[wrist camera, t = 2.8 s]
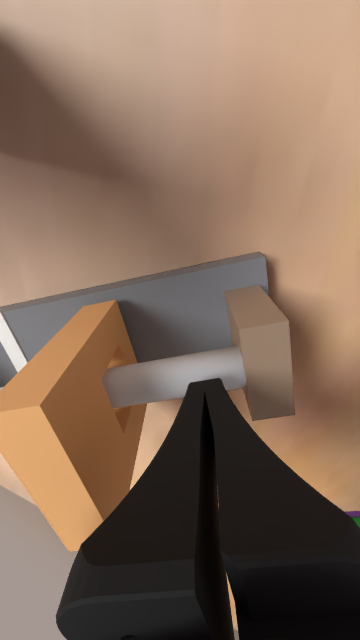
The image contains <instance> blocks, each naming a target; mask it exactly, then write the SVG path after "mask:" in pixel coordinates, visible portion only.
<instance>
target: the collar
mask: <svg viewBox="0 0 360 640" xmlns="http://www.w3.org/2000/svg"><path fill="white" fill-rule="evenodd" d="M136 363H137V360H136V357H135V354H134V351H133V348H132V345H131V342H130V339H129V336H128V333H127V330H126V327H125V324H124V321H123V318H122V315H121V312H120V309H119V306H118V303H117V300H112V301H107V302H102V303H97V304H92V305H87V306H83V307H82V308H81V309H80V310H79V311H78V312H77V313H76V314H75V315H74V316H73V317H72V318H71V319H70V320H69V321H68V322H67V323H66V325H65V326H64V327H63V328H62V329H61V330H60V331H59V332H58V333H57V334H56V335H55V336H54V337H53V338H52V339H51V340H50V341H49V342H48V343H47V344H46V345H45V346H44V347H43V348H42V349H41V350H40V351H39V352H38V353H37V354H36V355H35V356H34V357H33V358H32V359H31V360H30V361H29V362H28V363H27V364H26V365H25V366H24V367H23V368H22V369H21V370H20V371H19V372H18V373H17V374H16V375H15V376H14V377H13V378H12V379H11V380H10V381H9V382H8V383H7V384H6V385H5V386H4V387H3V388H2V389H1V390H0V452H1V454H2V455H3V457H4V458H5V460H6V461H7V463H8V464H9V465H10V467H11V468H12V470H13V471H14V473H15V474H16V476H17V477H18V478H19V480H20V481H21V483H22V484H23V486H24V487H25V489H26V490H27V492H28V493H29V494H30V496H31V497H32V499H33V500H34V502H35V503H36V505H37V506H38V507H39V509H40V510H41V512H42V513H43V515H44V516H45V518H46V519H47V520H48V522H49V523H50V525H51V526H52V528H53V529H54V531H55V532H56V533H57V535H58V536H59V538H60V539H61V541H62V542H63V543H64V545H65V546H66V548H67V549H68V551H79V548H80V546H81V544H82V543H83V542H84V541H85V540H86V539H87V538H88V537H89V536H90V535H91V534H92V533H93V532H94V531H95V529H96V528H97V527H98V526H99V525H100V524H101V523H102V522H103V521H104V520H105V519H106V518H107V517H108V516H109V515H110V514H111V513H112V512H113V510H114V509H115V508H116V507H117V506H118V505H119V503H120V502H121V501H122V500H123V499H124V497H125V496H126V495H127V494H128V493H129V490H130V485H131V480H132V475H133V470H134V465H135V460H136V455H137V450H138V445H139V440H140V436H141V431H142V426H143V421H144V416H145V411H146V406H147V403H145V404H139V405H132V406H126V407H119V408H112V405H111V403H110V400H109V398H108V395H107V393H106V391H105V388H104V386H103V383H102V381H101V380H102V378H103V376H104V374H105V372H106V370H107V369H108V368H113V367H119V366H125V365H130V364H136Z"/></svg>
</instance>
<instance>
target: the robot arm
mask: <svg viewBox="0 0 360 640" xmlns="http://www.w3.org/2000/svg"><path fill="white" fill-rule="evenodd" d="M217 485H218V489H217ZM218 503H219V508H218ZM226 573H227V576H228V580H229V583H230V587H231V590H232V594H233V597H234V601H235V607H236V615H237V624H238V633H239V640H360V527H359V526H358V525H357V524H356V522H355V521H354V520H353V518H352V517H351V516H349V515H348V514H347V513H345V512H344V511H342V510H341V509H340V508H338V507H337V506H336V505H334V504H333V503H332V502H330V501H329V500H328V499H326V498H325V497H324V496H323V495H321V494H320V493H319V492H318V491H316V490H315V489H314V488H313V487H311V486H310V485H309V484H308V483H307V482H305V481H304V480H303V479H302V478H301V477H300V476H298V475H297V474H296V473H295V472H294V471H293V470H292V469H291V468H290V467H289V466H287V465H286V464H285V463H284V462H283V461H282V460H281V459H280V458H279V457H278V456H277V455H276V454H275V453H274V452H273V451H272V450H271V449H270V448H269V447H268V446H267V445H266V444H265V443H264V442H263V441H262V440H261V438H260V437H259V436H258V435H257V434H256V433H255V432H254V430H253V429H252V428H251V427H250V425H249V424H248V423H247V422H246V420H245V419H244V418H243V416H242V415H241V414H240V412H239V411H238V409H237V408H236V406H235V405H234V403H233V402H232V400H231V398H230V397H229V395H228V393H227V391H226V389H225V387H224V385H223V382H222V379H220V378H215V379H209V380H203V381H196V382H190V383H189V385H188V387H187V391H186V394H185V397H184V399H183V402H182V405H181V407H180V409H179V412H178V414H177V416H176V419H175V421H174V423H173V425H172V427H171V429H170V431H169V433H168V435H167V436H166V438H165V440H164V442H163V444H162V445H161V447H160V449H159V451H158V452H157V454H156V455H155V457H154V458H153V460H152V462H151V463H150V464H149V466H148V467H147V469H146V470H145V472H144V473H143V474H142V476H141V477H140V479H139V480H138V481H137V483H136V484H135V485H134V486H133V488H132V489H131V490H130V491H129V493H128V494H127V495H126V496H125V497H124V499H123V500H122V501H121V502H120V503H119V505H118V506H117V507H116V508H115V509H114V510H113V512H112V513H111V514H110V515H109V516H108V517H107V518H106V519H105V520H104V521H103V522H102V523H101V524H100V525H99V526H98V527H97V528H96V529H95V531H94V532H93V533H92V534H91V535H90V536H89V537H88V538H87V539H86V540H85V541H84V542H83V543H82V544H81V546H80V548H79V551H78V553H77V556H76V558H75V560H74V563H73V565H72V568H71V571H70V573H69V577H68V580H67V583H66V586H65V589H64V592H63V596H62V599H61V602H60V605H59V608H58V611H57V614H56V623H57V626H58V628H59V630H60V632H61V633H62V634H63V636H64V637H65V638H66V639H67V640H235V639H234V631H233V623H232V616H231V608H230V600H229V592H228V584H227V576H226Z"/></svg>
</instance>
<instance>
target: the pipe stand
mask: <svg viewBox="0 0 360 640" xmlns="http://www.w3.org/2000/svg"><path fill="white" fill-rule="evenodd" d="M112 300H117V303H118V306H119V309H120V312H121V315H122V318H123V321H124V324H125V327H126V330H127V333H128V336H129V339H130V342H131V345H132V348H133V351H134V354H135V357H136V360H137V363H136V364H130V365H125V366H119V367H113V368H108V369H107V370H106V372H105V374H104V376H103V378H102V380H101V381H102V383H103V386H104V388H105V391H106V393H107V395H108V398H109V400H110V403H111V405H112V408H119V407H126V406H132V405H139V404H145V403H151V402H158V401H164V400H170V399H177V398H183V397H185V394H186V391H187V387H188V385H189V383H190V382H196V381H203V380H209V379H215V378H220V379H222V382H223V385H224V387H225V389H226V391H228V390H234V389H241V388H243V390H244V394H245V397H246V401H247V404H248V408H249V411H250V415H251V418H252V421H255V420H262V419H269V418H276V417H283V416H290V415H295V409H294V393H293V377H292V361H291V345H290V330H289V320H288V319H287V318H286V316H285V315H284V314H283V313H282V312H281V310H280V309H279V308H278V307H277V306H276V304H275V303H274V302H273V301H272V300H271V298H270V297H269V291H268V280H267V269H266V258H265V256H264V255H263V254H261V253H260V252H255V253H251V254H246V255H241V256H236V257H232V258H227V259H222V260H218V261H213V262H208V263H204V264H199V265H194V266H190V267H185V268H180V269H176V270H171V271H166V272H162V273H157V274H152V275H148V276H143V277H138V278H134V279H129V280H124V281H120V282H115V283H110V284H106V285H101V286H96V287H91V288H87V289H82V290H77V291H73V292H68V293H63V294H59V295H54V296H49V297H45V298H40V299H35V300H31V301H26V302H21V303H17V304H12V305H7V306H3V307H0V390H1V389H2V388H3V387H4V386H5V385H6V384H7V383H8V382H9V381H10V380H11V379H12V378H13V377H14V376H15V375H16V374H17V373H18V372H19V371H20V370H21V369H22V368H23V367H24V366H25V365H26V364H27V363H28V362H29V361H30V360H31V359H32V358H33V357H34V356H35V355H36V354H37V353H38V352H39V351H40V350H41V349H42V348H43V347H44V346H45V345H46V344H47V343H48V342H49V341H50V340H51V339H52V338H53V337H54V336H55V335H56V334H57V333H58V332H59V331H60V330H61V329H62V328H63V327H64V326H65V325H66V323H67V322H68V321H69V320H70V319H71V318H72V317H73V316H74V315H75V314H76V313H77V312H78V311H79V310H80V309H81V308H82V307H83V306H87V305H92V304H97V303H102V302H107V301H112Z"/></svg>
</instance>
